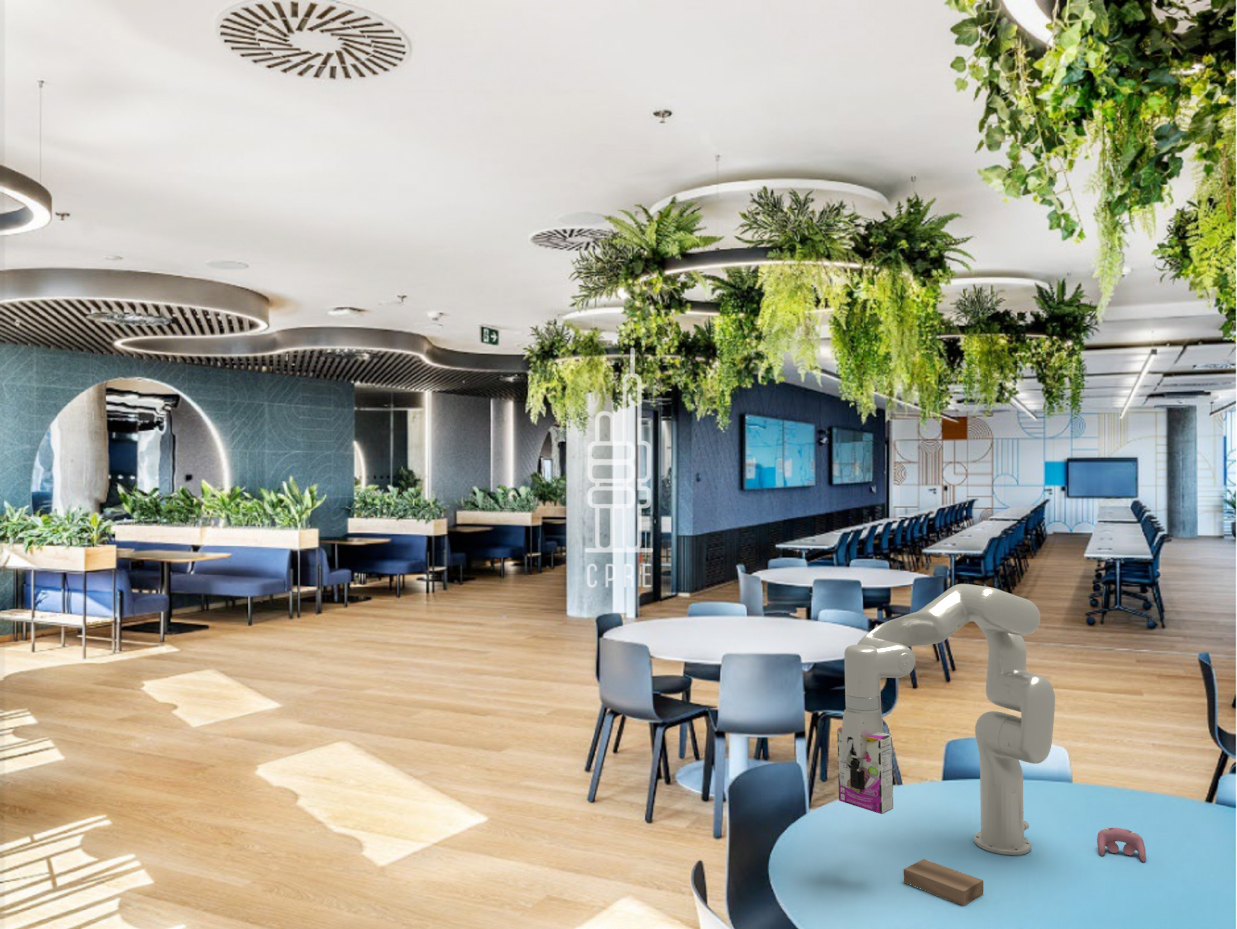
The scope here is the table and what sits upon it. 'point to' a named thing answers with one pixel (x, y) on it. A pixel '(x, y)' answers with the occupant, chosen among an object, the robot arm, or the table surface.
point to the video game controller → (1122, 835)
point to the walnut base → (944, 882)
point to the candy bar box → (869, 775)
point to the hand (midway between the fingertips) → (865, 784)
